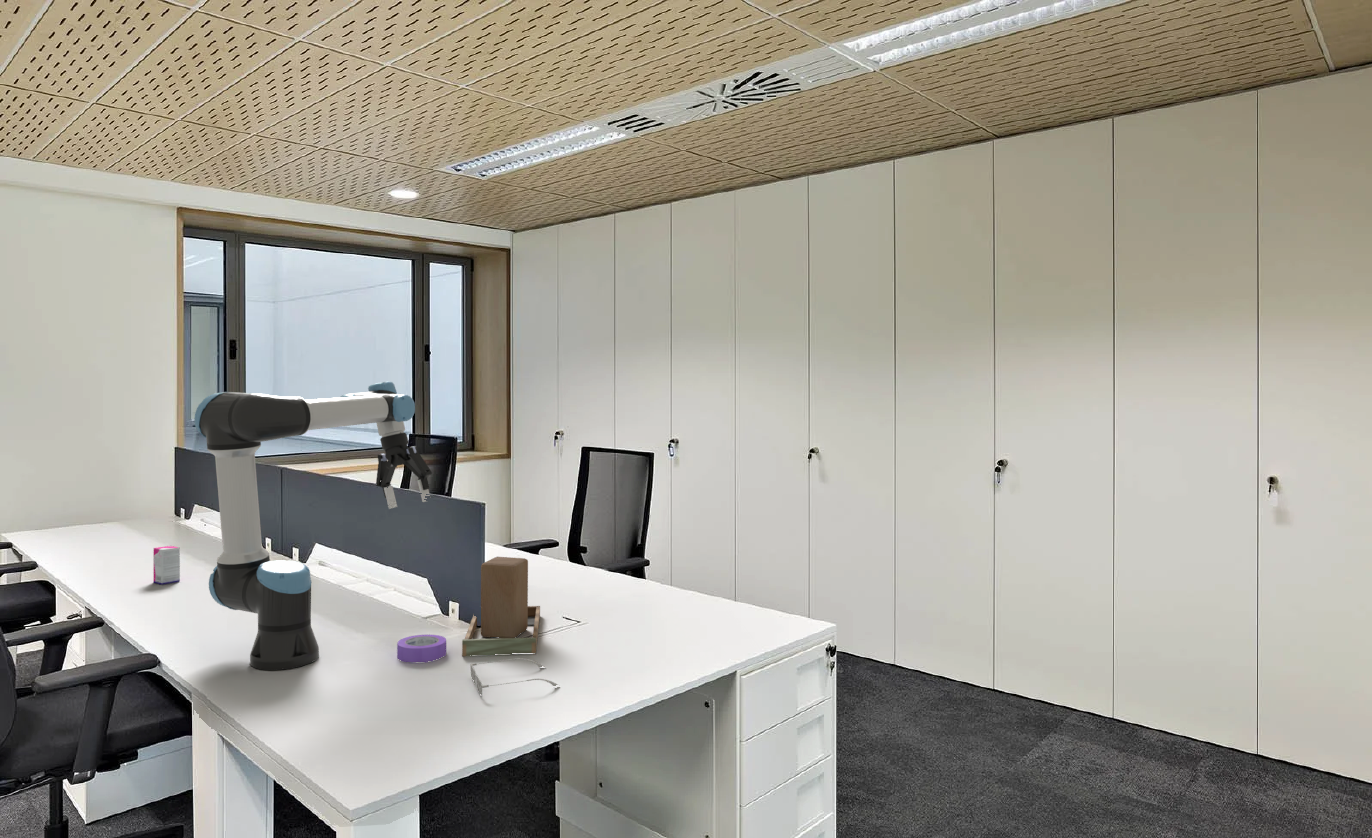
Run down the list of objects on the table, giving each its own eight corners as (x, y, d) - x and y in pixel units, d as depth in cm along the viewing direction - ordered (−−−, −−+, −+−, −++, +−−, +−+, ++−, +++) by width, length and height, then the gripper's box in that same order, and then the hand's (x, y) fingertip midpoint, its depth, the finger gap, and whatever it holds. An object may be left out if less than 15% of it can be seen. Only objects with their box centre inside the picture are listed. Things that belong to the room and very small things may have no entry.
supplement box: (180, 581, 281) (180, 547, 281) (161, 585, 276) (161, 550, 276) (171, 579, 284) (171, 544, 284) (152, 582, 279) (152, 547, 279)
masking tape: (407, 647, 219) (407, 633, 219) (452, 649, 219) (452, 634, 219) (389, 663, 207) (389, 647, 207) (437, 664, 207) (437, 649, 207)
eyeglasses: (469, 678, 199) (469, 661, 199) (545, 668, 206) (545, 652, 206) (480, 701, 185) (480, 683, 185) (562, 690, 192) (562, 673, 192)
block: (514, 640, 226) (515, 565, 225) (479, 637, 228) (479, 563, 227) (528, 629, 235) (529, 557, 234) (494, 627, 237) (495, 555, 236)
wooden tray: (535, 654, 215) (535, 638, 215) (462, 656, 212) (462, 640, 212) (540, 616, 249) (540, 602, 248) (476, 617, 246) (476, 603, 246)
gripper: (433, 424, 249) (450, 495, 250) (372, 440, 261) (388, 507, 261) (414, 428, 243) (432, 500, 243) (353, 443, 254) (370, 513, 254)
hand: (409, 504), depth 252 cm, fingers open, 13 cm apart
